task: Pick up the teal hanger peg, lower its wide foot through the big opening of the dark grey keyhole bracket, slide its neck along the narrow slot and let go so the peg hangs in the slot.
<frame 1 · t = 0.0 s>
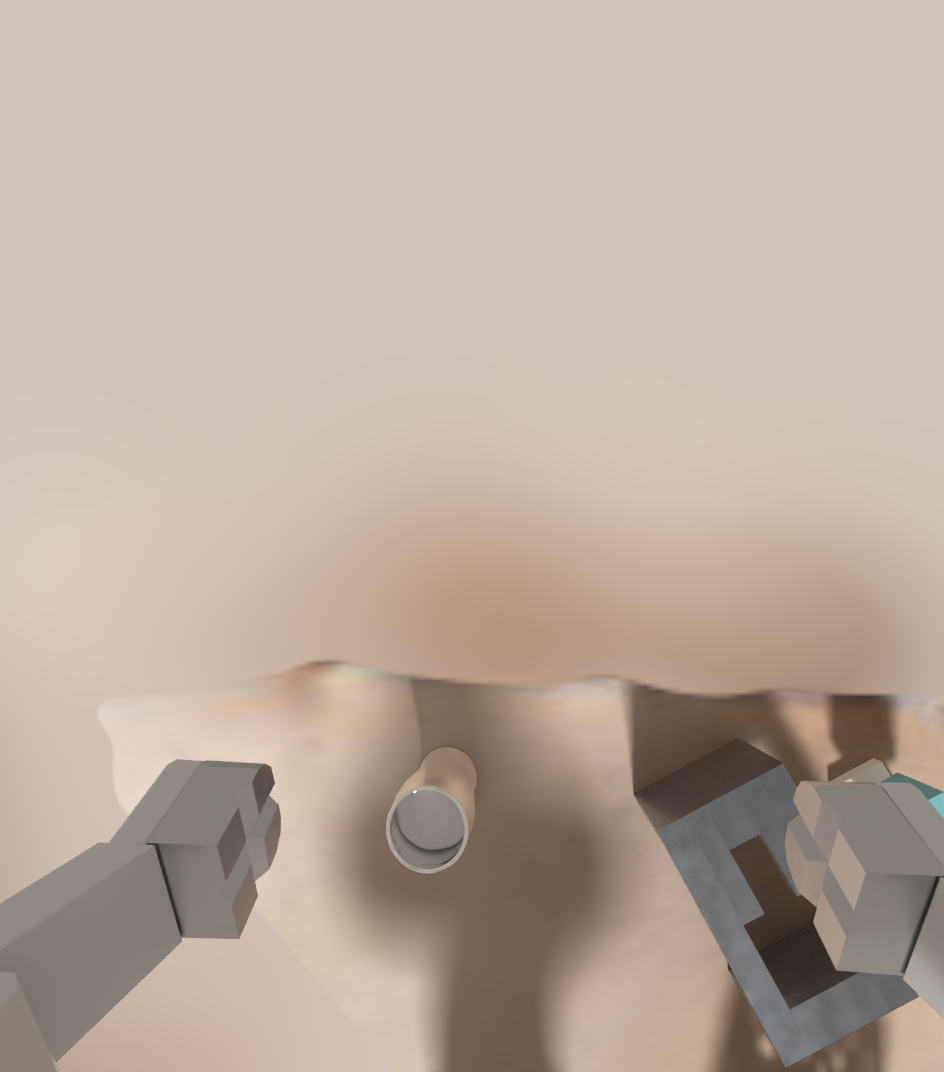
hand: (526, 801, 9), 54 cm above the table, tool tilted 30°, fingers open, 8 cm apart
hanger peg: (864, 793, 59), on the table
keyhole bracket: (739, 860, 59), on the table
beer glass: (447, 776, 62), on the table
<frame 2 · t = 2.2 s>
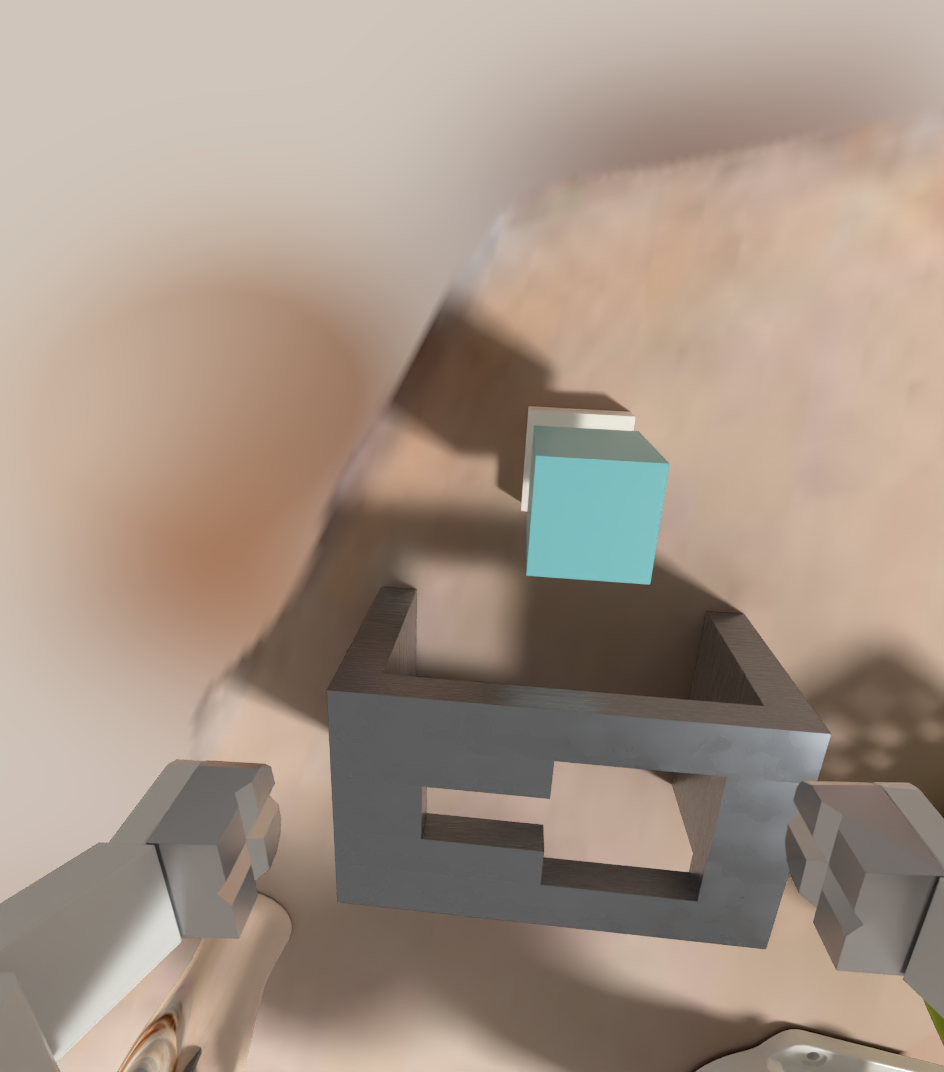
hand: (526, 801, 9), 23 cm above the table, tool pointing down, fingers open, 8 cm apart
hanger peg: (573, 458, 31), on the table
keyhole bracket: (550, 691, 35), on the table
beer glass: (253, 917, 45), on the table
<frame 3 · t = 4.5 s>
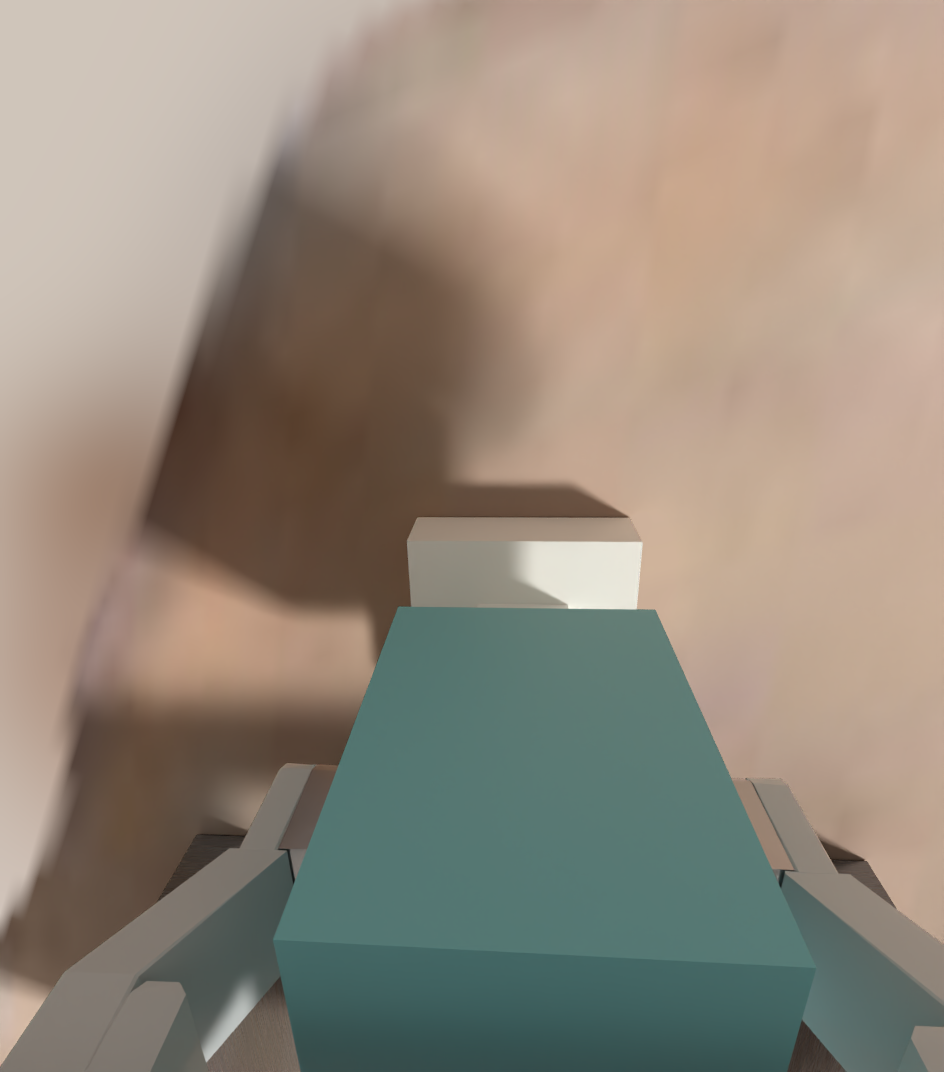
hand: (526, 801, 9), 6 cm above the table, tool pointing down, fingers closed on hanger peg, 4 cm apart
hanger peg: (521, 611, 15), on the table, touching gripper
keyhole bracket: (517, 979, 20), on the table
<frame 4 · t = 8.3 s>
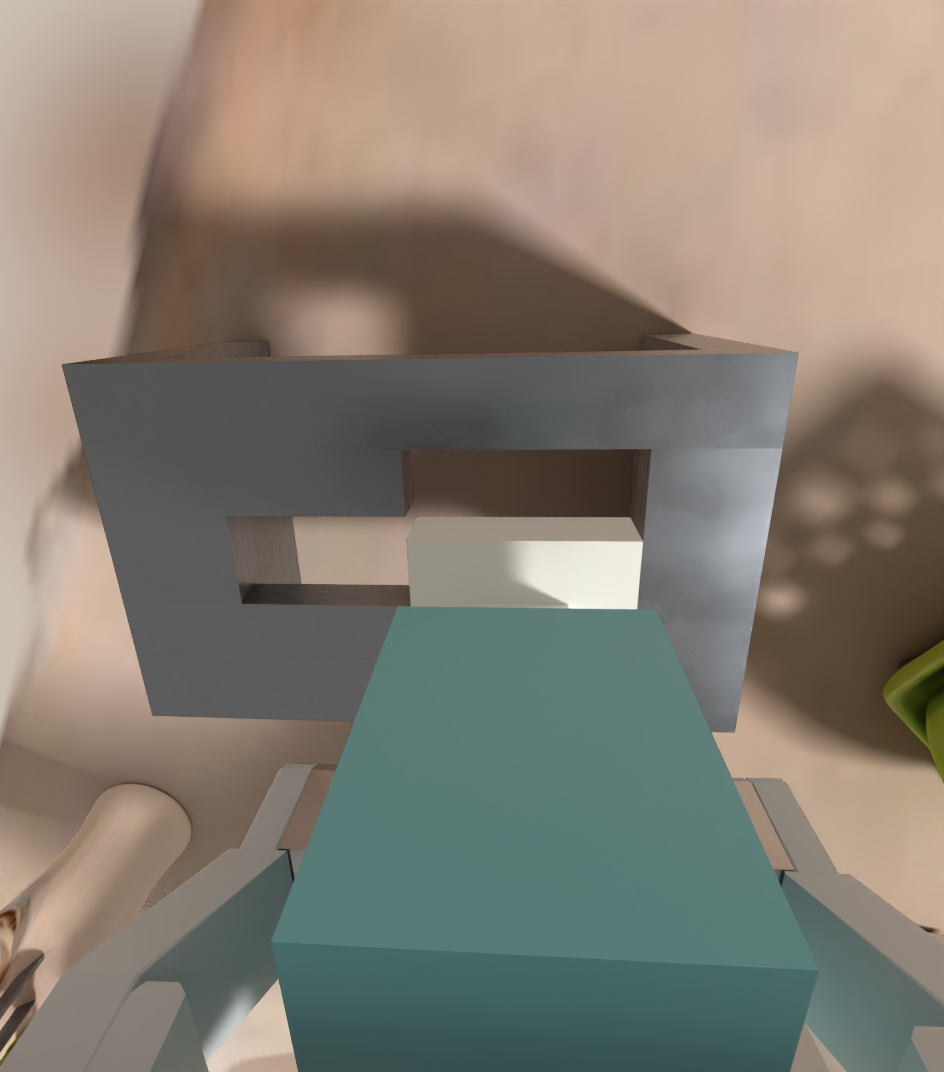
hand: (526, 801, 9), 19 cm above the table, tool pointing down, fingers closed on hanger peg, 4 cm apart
hanger peg: (521, 611, 15), point 13 cm above the table, touching gripper
keyhole bracket: (455, 475, 28), on the table
beer glass: (146, 818, 37), on the table
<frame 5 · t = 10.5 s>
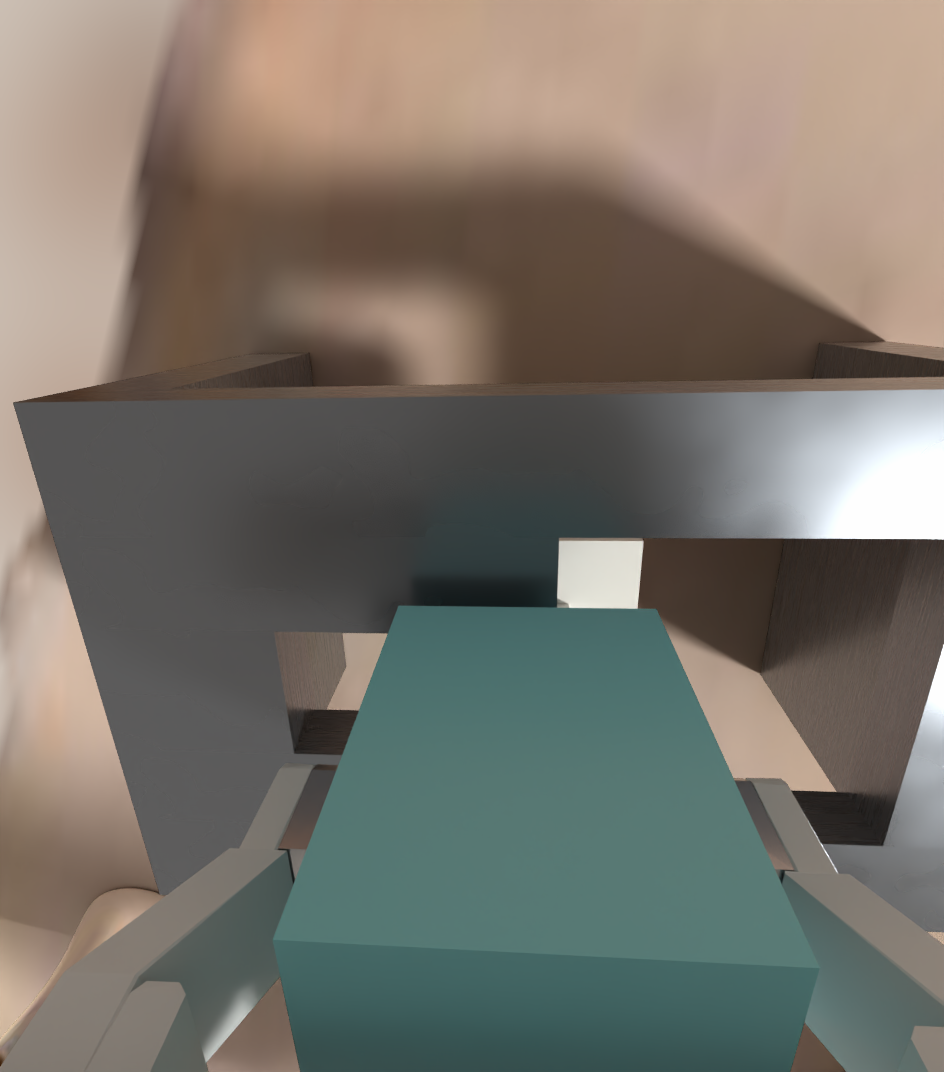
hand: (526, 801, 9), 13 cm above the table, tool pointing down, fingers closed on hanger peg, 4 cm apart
hanger peg: (521, 610, 15), point 7 cm above the table, touching gripper
keyhole bracket: (551, 525, 21), on the table
beer glass: (148, 925, 31), on the table
when the fingers open (13 cm above the table, at t = 12.2 s): hanger peg stays where it is, resting on keyhole bracket.
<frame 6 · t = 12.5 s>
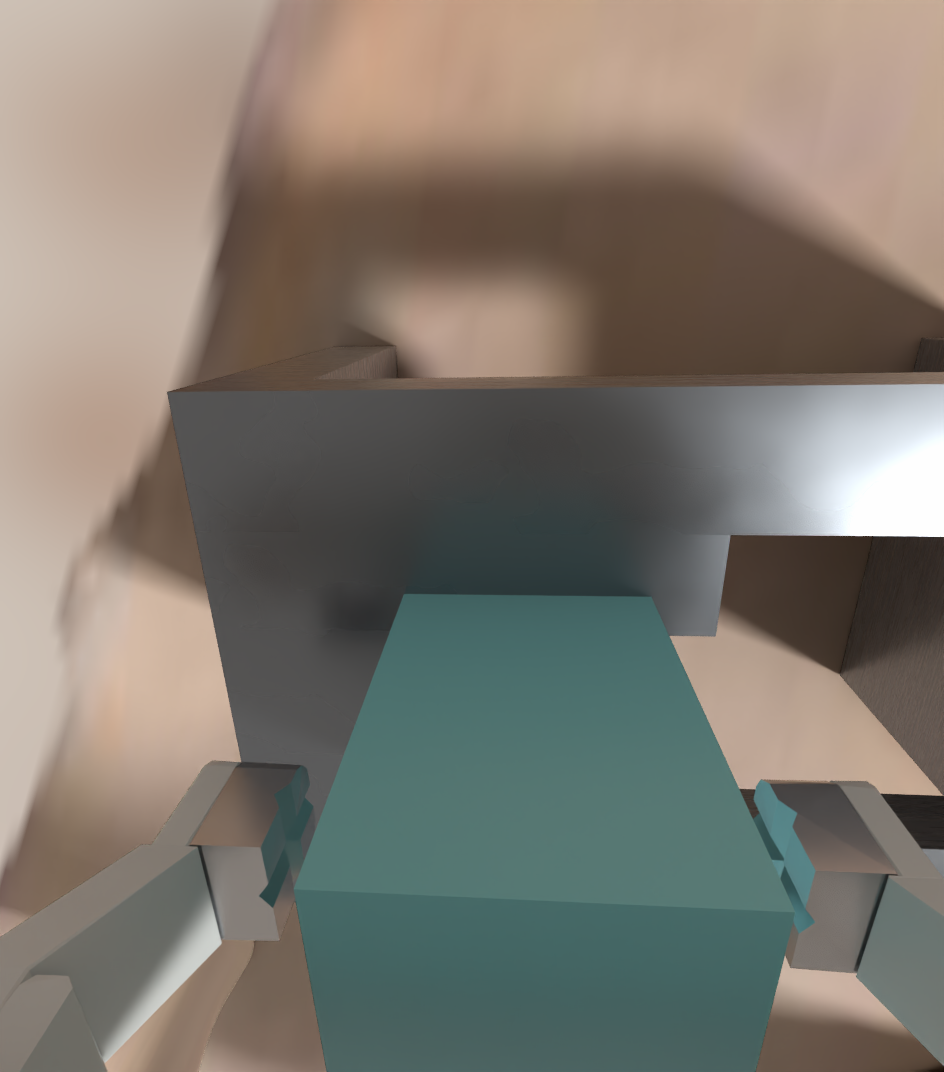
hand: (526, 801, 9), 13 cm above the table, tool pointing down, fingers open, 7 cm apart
hanger peg: (522, 602, 16), point 6 cm above the table, touching keyhole bracket
keyhole bracket: (635, 523, 21), on the table
beer glass: (198, 927, 30), on the table
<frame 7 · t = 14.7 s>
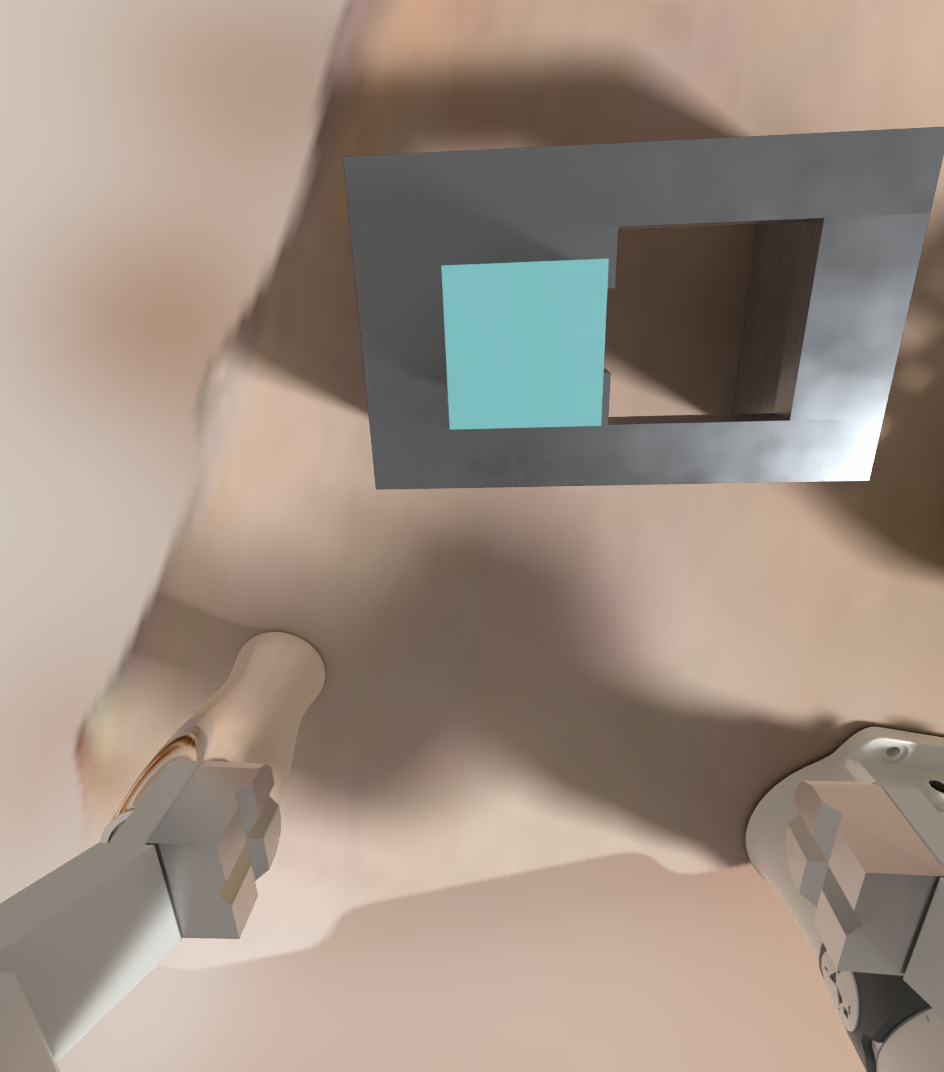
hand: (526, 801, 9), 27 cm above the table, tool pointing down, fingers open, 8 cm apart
hanger peg: (516, 326, 26), point 6 cm above the table, touching keyhole bracket
keyhole bracket: (590, 317, 32), on the table
beer glass: (283, 667, 41), on the table
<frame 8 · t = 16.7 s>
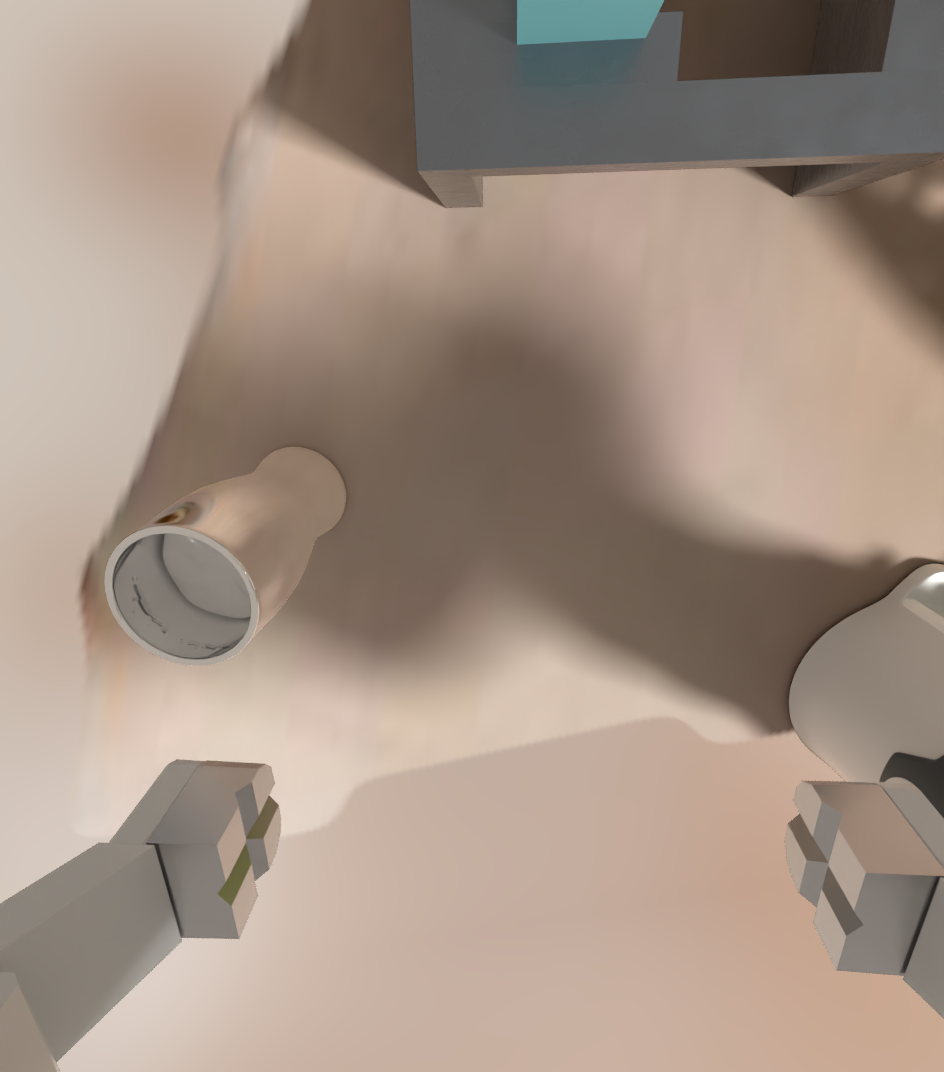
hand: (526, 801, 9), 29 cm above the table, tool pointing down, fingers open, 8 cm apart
hanger peg: (573, 11, 24), point 6 cm above the table, touching keyhole bracket
keyhole bracket: (644, 62, 29), on the table
beer glass: (301, 491, 39), on the table
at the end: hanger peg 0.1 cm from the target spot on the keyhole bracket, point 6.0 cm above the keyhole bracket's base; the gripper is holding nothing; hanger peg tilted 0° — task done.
